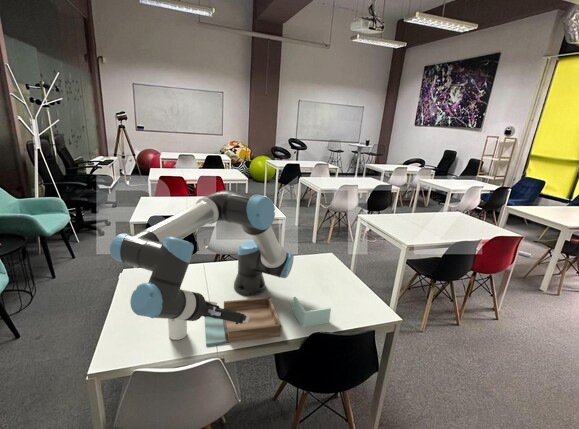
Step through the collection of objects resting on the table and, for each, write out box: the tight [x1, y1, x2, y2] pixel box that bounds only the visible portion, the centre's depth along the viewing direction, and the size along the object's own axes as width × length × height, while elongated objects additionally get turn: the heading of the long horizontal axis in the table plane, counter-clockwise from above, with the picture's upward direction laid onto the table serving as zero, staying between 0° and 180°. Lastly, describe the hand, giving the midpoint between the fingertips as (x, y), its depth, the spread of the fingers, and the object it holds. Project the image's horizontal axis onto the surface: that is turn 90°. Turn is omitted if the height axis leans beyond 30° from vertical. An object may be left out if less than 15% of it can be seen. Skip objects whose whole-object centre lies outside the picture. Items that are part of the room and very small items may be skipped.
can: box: [167, 319, 188, 341], centre depth 119 cm, size 6×6×12 cm
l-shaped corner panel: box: [291, 296, 332, 328], centre depth 137 cm, size 12×12×8 cm
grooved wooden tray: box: [204, 296, 282, 347], centre depth 129 cm, size 20×28×5 cm
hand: (231, 312), depth 103 cm, fingers open, 13 cm apart
